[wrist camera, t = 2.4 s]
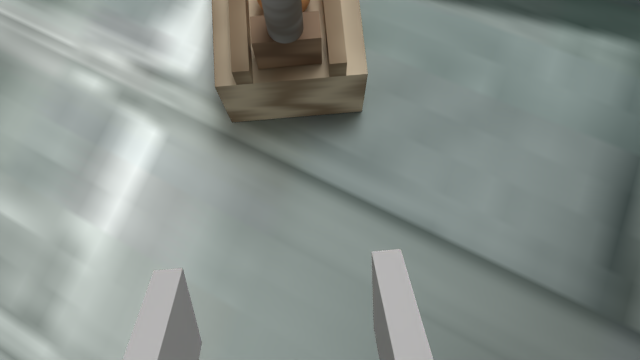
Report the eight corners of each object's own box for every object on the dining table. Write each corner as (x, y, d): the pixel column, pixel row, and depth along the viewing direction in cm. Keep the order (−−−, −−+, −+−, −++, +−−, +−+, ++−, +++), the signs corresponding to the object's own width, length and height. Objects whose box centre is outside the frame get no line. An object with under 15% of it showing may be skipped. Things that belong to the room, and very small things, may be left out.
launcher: (347, -12, 48) (352, -86, 39) (361, 111, 45) (369, 60, 36) (226, -2, 48) (204, -74, 39) (232, 122, 45) (208, 74, 36)
